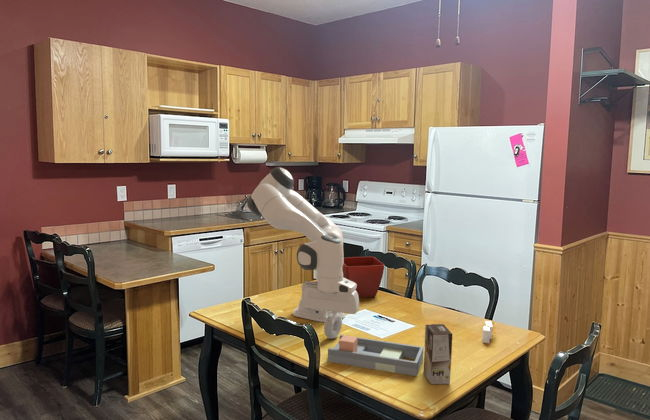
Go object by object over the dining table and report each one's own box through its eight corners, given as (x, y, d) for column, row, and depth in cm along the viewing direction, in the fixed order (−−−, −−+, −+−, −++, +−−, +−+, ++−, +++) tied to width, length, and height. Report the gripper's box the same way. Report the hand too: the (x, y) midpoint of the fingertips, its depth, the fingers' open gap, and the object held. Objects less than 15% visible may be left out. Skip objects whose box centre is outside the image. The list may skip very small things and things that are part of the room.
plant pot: (345, 300, 236) (346, 266, 234) (336, 289, 254) (337, 257, 252) (384, 299, 240) (385, 265, 238) (372, 288, 258) (373, 256, 256)
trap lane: (327, 361, 168) (327, 349, 167) (340, 346, 181) (340, 334, 181) (416, 376, 158) (417, 363, 158) (423, 359, 171) (423, 346, 171)
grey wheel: (329, 343, 184) (330, 317, 182) (321, 341, 186) (322, 315, 184) (343, 335, 192) (343, 310, 191) (335, 333, 194) (336, 308, 193)
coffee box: (451, 384, 153) (453, 334, 151) (430, 384, 153) (433, 334, 151) (441, 371, 162) (443, 323, 160) (422, 371, 162) (424, 323, 160)
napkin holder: (484, 330, 201) (485, 317, 201) (509, 339, 192) (510, 325, 192) (461, 338, 192) (461, 324, 192) (486, 348, 183) (487, 333, 183)
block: (338, 354, 168) (339, 340, 167) (343, 349, 173) (343, 335, 172) (353, 356, 166) (353, 342, 166) (357, 351, 171) (357, 337, 170)
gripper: (298, 282, 169) (297, 321, 171) (355, 289, 162) (354, 329, 164) (305, 278, 175) (304, 315, 177) (361, 284, 168) (360, 323, 170)
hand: (329, 322), depth 170 cm, fingers closed
